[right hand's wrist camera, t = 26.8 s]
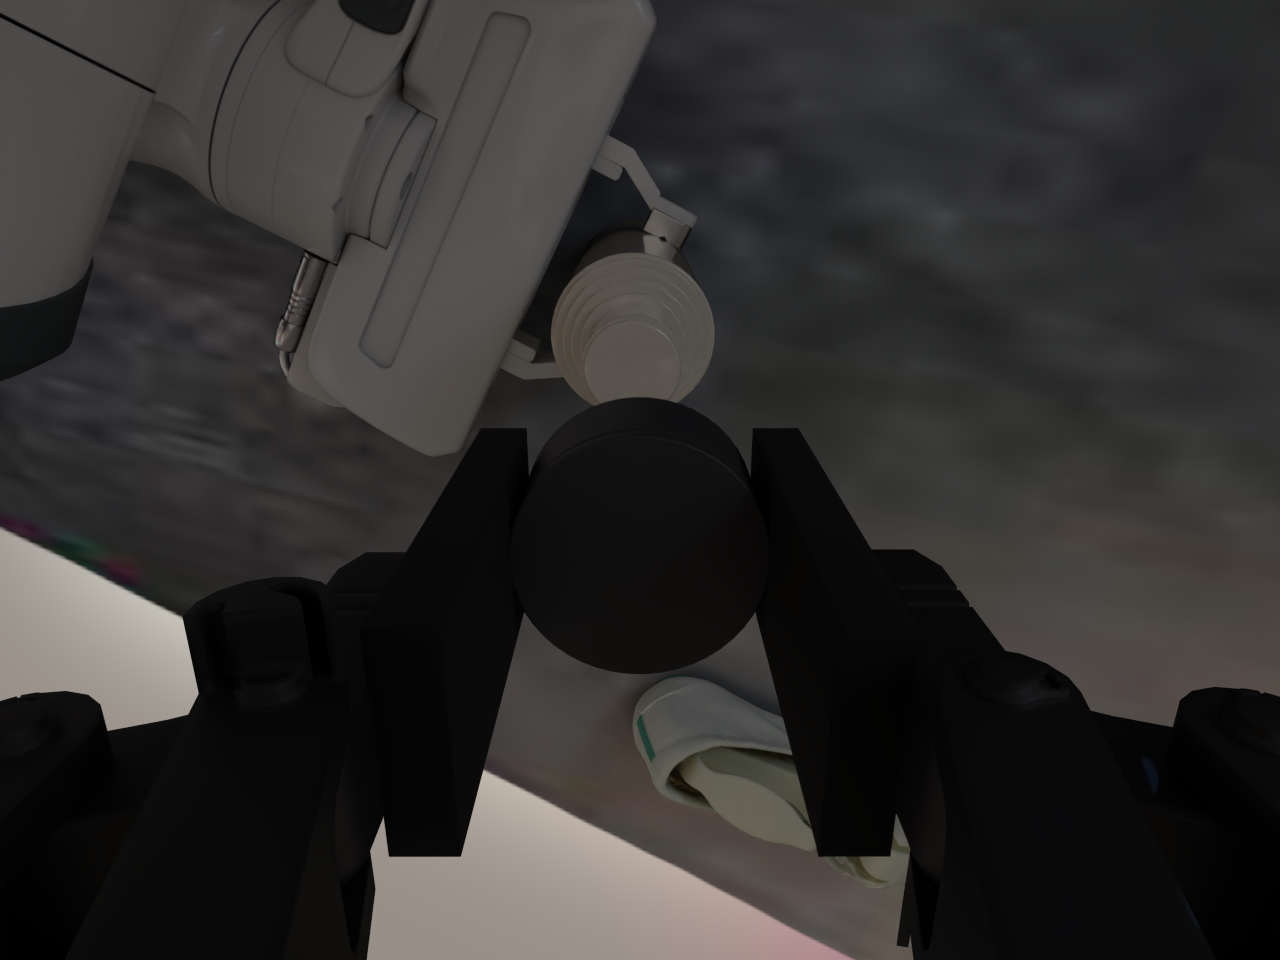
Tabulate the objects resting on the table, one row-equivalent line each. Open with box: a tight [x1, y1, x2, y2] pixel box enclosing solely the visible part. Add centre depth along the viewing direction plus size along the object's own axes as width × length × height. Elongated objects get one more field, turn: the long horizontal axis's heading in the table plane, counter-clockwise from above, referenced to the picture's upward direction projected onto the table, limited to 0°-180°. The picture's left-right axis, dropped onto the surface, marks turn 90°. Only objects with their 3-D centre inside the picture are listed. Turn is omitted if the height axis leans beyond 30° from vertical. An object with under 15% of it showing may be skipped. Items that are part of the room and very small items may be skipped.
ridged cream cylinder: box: [551, 220, 715, 406], centre depth 32 cm, size 5×5×20 cm
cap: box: [510, 397, 770, 674], centre depth 13 cm, size 4×4×2 cm
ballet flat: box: [632, 675, 910, 889], centre depth 48 cm, size 8×24×8 cm, turn 66°
